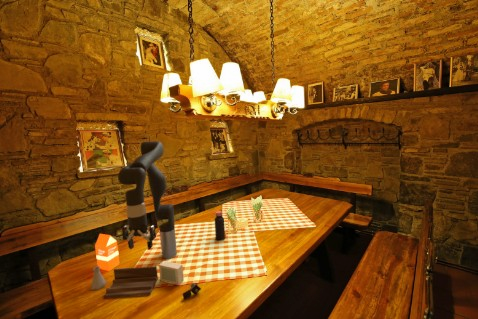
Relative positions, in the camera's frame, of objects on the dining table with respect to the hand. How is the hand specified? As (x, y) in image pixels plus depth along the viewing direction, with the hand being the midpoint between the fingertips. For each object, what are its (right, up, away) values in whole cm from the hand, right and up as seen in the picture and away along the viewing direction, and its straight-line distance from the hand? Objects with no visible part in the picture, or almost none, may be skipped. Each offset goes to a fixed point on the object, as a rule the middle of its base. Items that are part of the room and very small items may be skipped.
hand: (140, 248), depth 101 cm
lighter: (+21, -26, +8) cm, 34 cm away
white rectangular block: (+8, -25, +20) cm, 33 cm away
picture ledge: (-11, -26, +15) cm, 32 cm away
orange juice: (-35, -25, +36) cm, 56 cm away
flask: (-30, -27, +19) cm, 44 cm away
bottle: (+30, -18, +65) cm, 73 cm away
